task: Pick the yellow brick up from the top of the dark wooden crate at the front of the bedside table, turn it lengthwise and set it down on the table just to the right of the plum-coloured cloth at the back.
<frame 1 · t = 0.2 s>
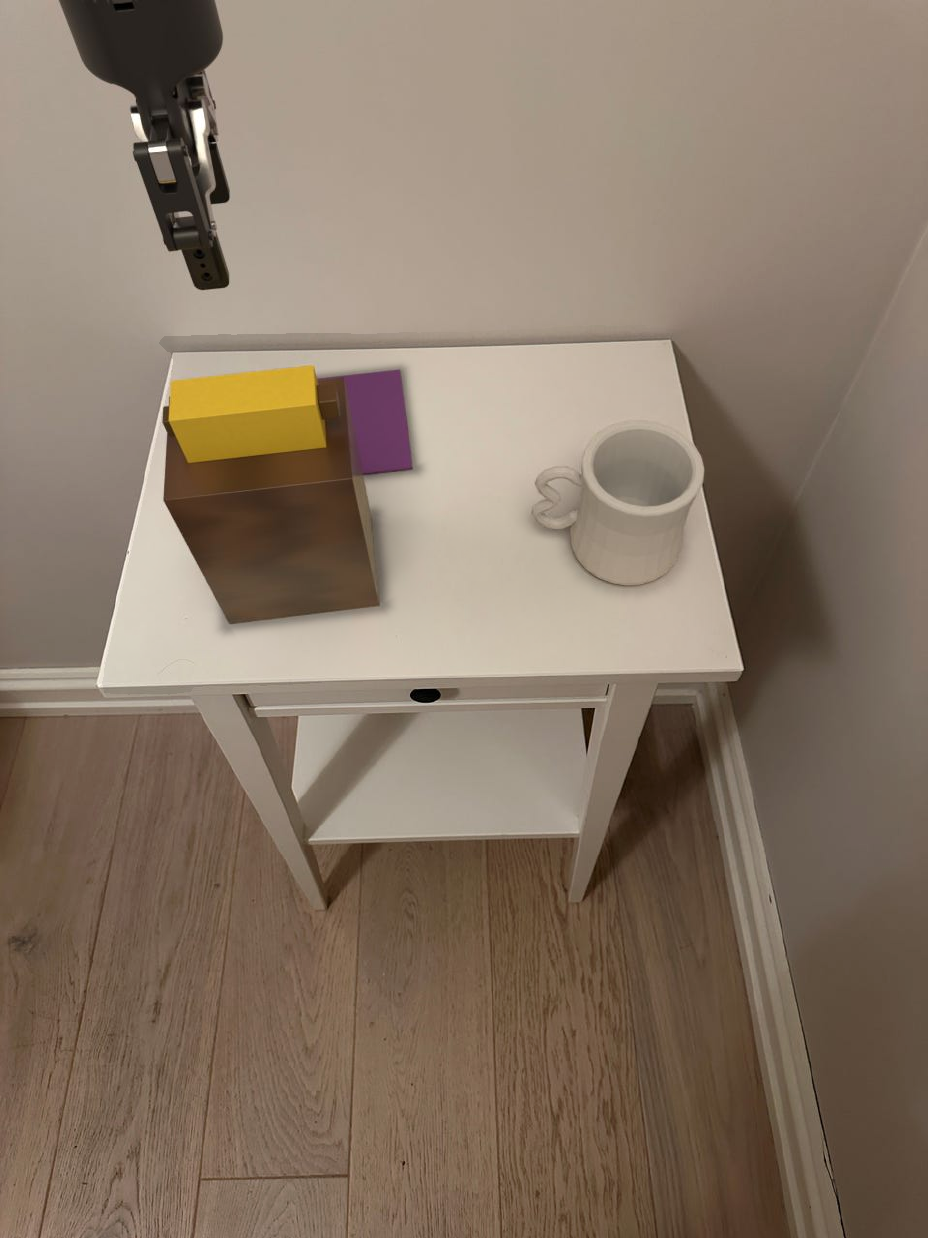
hand: (214, 241, 56), 23 cm above the table, tool pointing down, fingers open, 8 cm apart
yellow brick: (257, 435, 57), point 16 cm above the table, touching crate
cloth: (329, 427, 78), on the table
crate: (302, 568, 70), on the table
mug: (603, 543, 71), on the table
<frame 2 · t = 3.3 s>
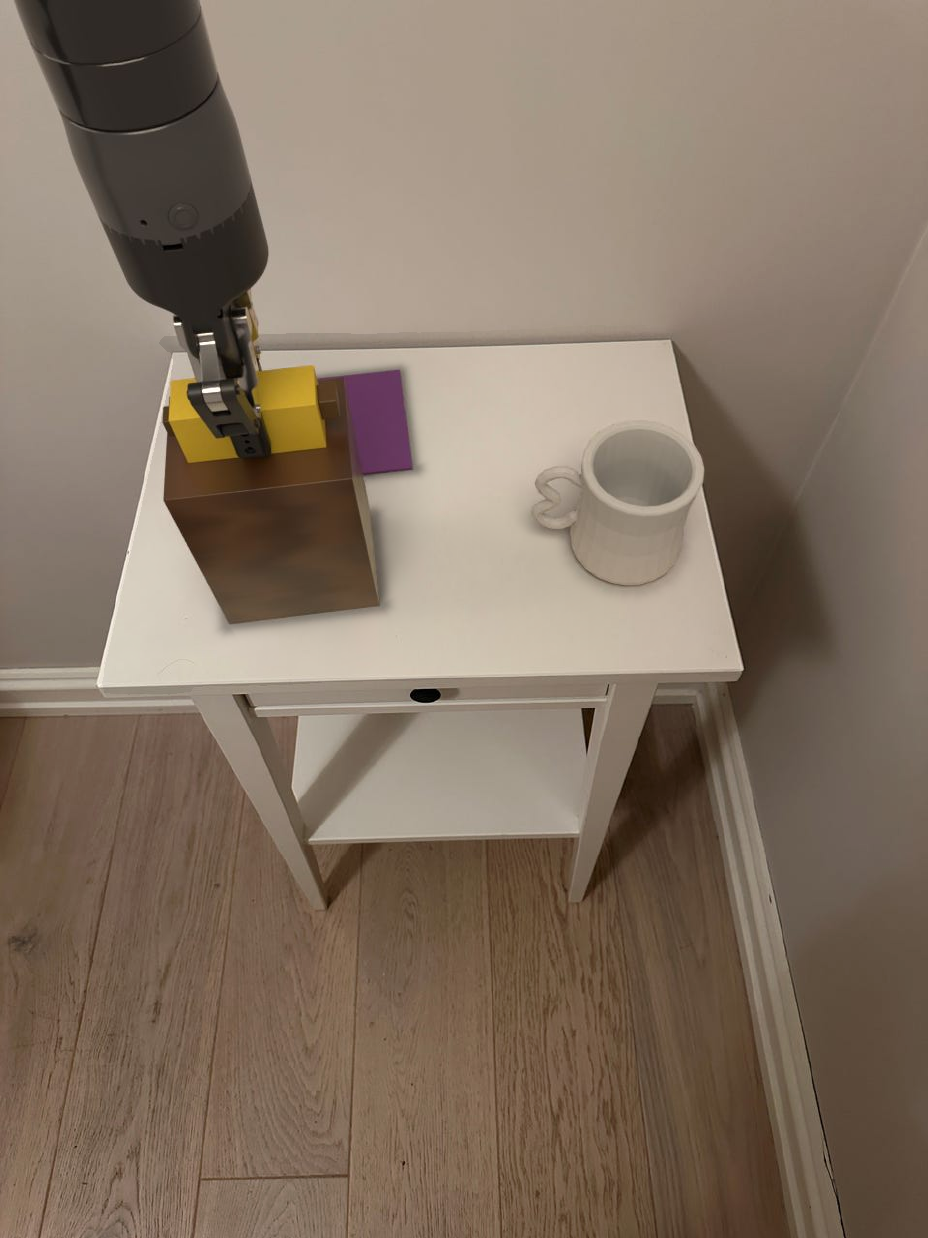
hand: (255, 429, 56), 17 cm above the table, tool pointing down, fingers closed on yellow brick, 3 cm apart
yellow brick: (257, 435, 57), point 16 cm above the table, touching crate, gripper
everything else where it was.
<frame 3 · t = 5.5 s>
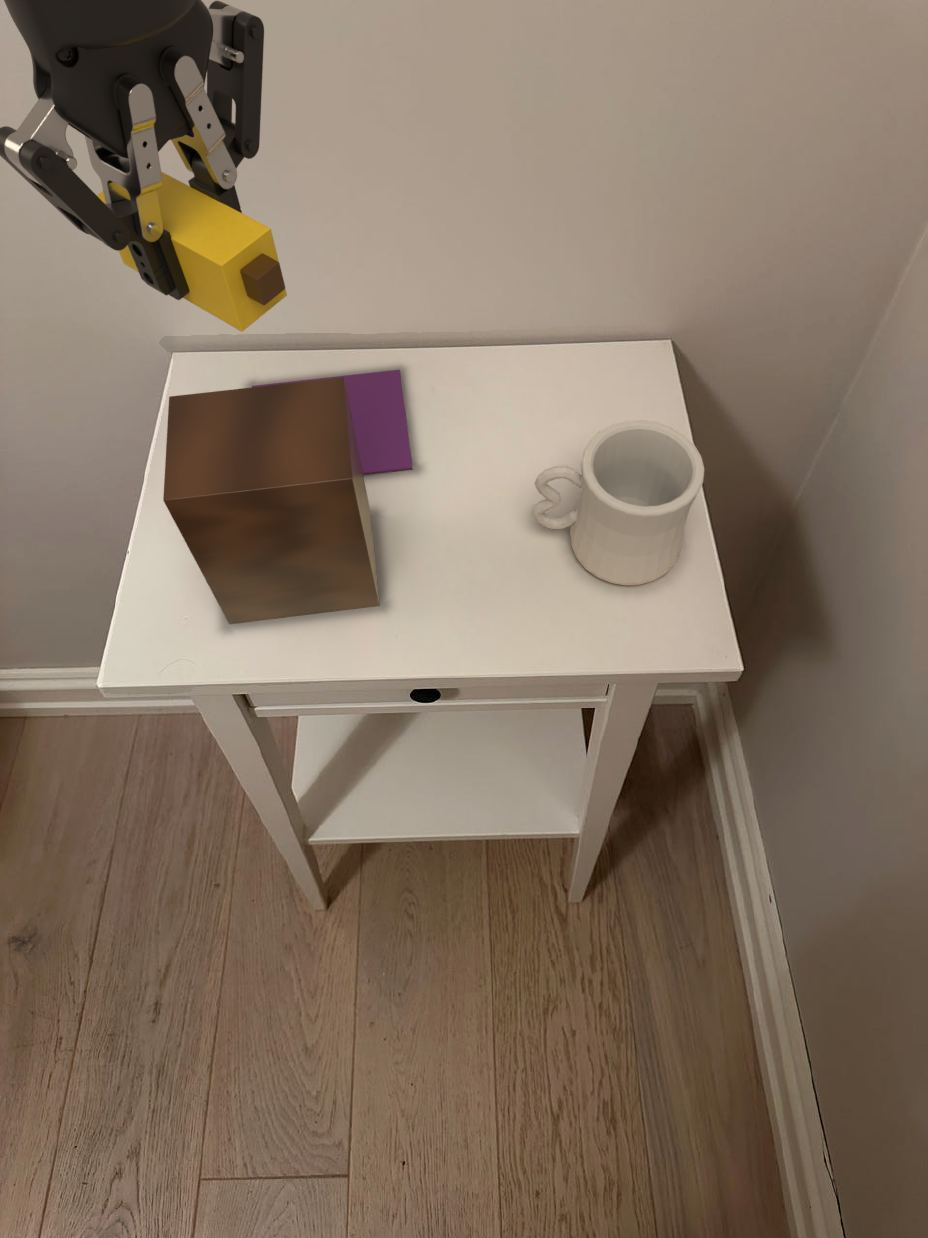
hand: (199, 268, 45), 29 cm above the table, tool pointing down, fingers closed on yellow brick, 3 cm apart
yellow brick: (204, 279, 46), point 28 cm above the table, touching gripper
everything else where it was.
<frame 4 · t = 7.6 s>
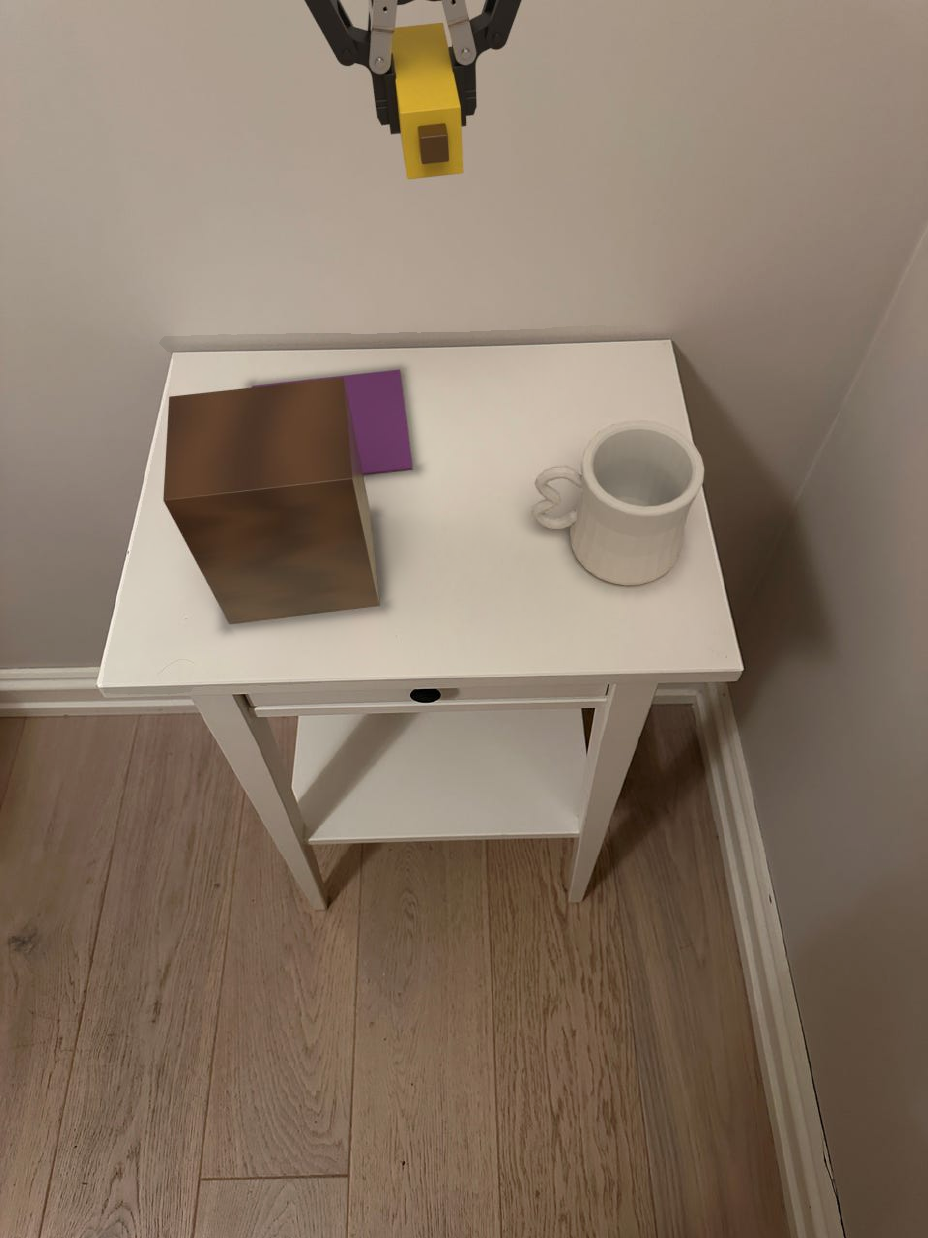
hand: (426, 121, 53), 28 cm above the table, tool pointing down, fingers closed on yellow brick, 3 cm apart
yellow brick: (427, 132, 53), point 27 cm above the table, touching gripper
everything else where it was.
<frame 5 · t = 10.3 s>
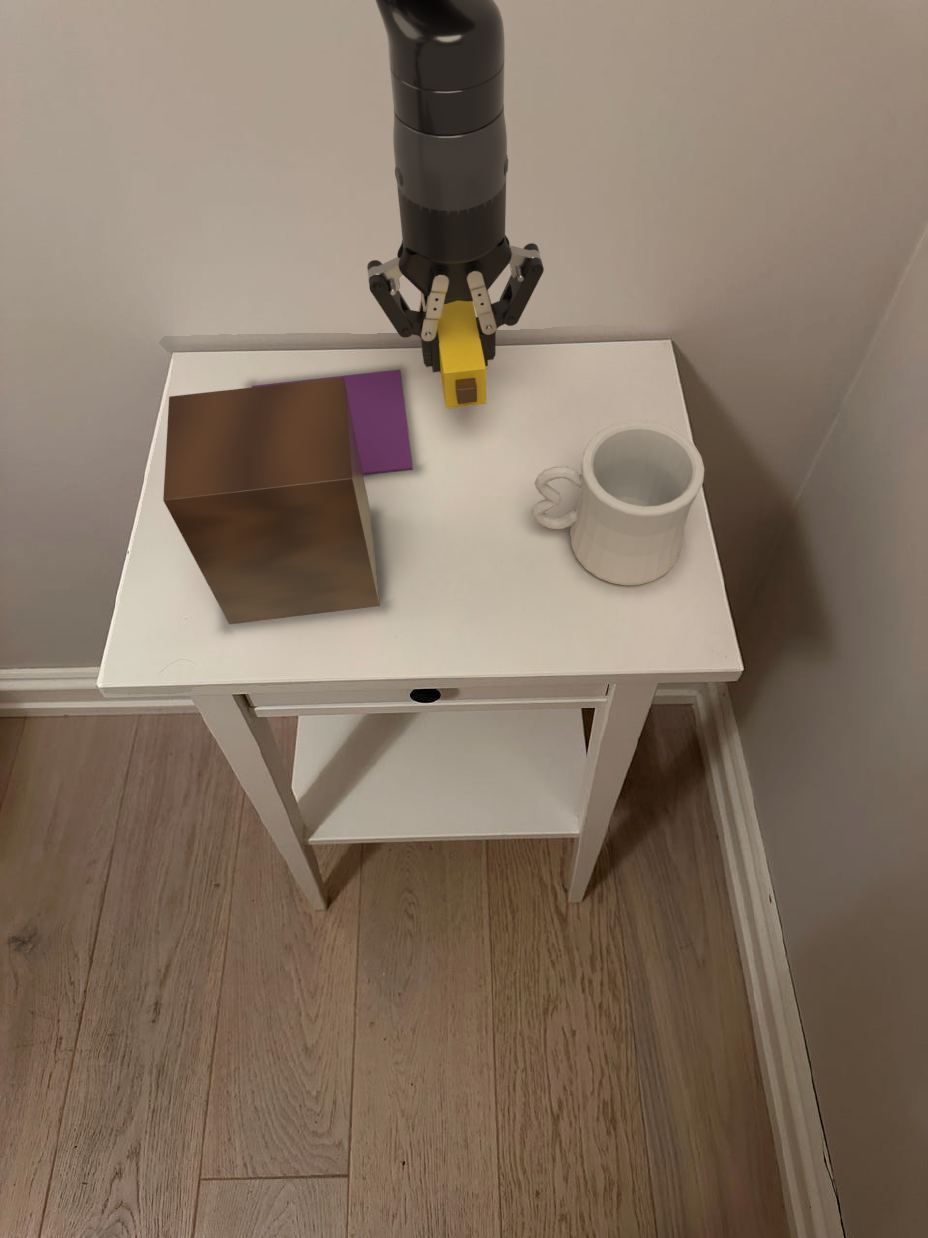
hand: (458, 361, 73), 6 cm above the table, tool pointing down, fingers closed on yellow brick, 3 cm apart
yellow brick: (459, 367, 74), point 6 cm above the table, touching gripper
everything else where it was.
when the fingers open (1 cm above the table, at t = 12.2 s): yellow brick stays where it is, on the table.
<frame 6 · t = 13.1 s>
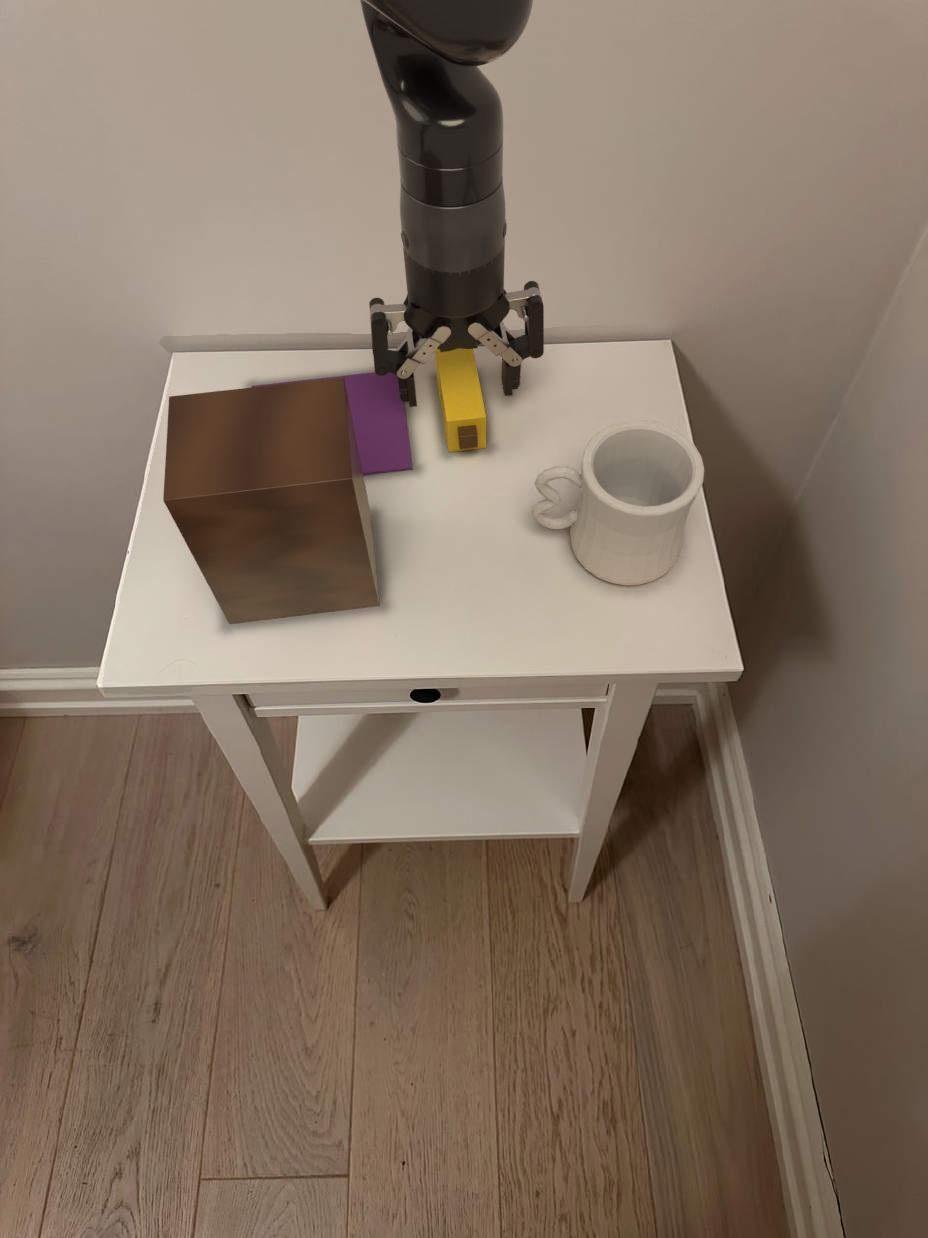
hand: (459, 394, 77), 2 cm above the table, tool pointing down, fingers open, 8 cm apart
yellow brick: (460, 412, 78), on the table
everything else where it was.
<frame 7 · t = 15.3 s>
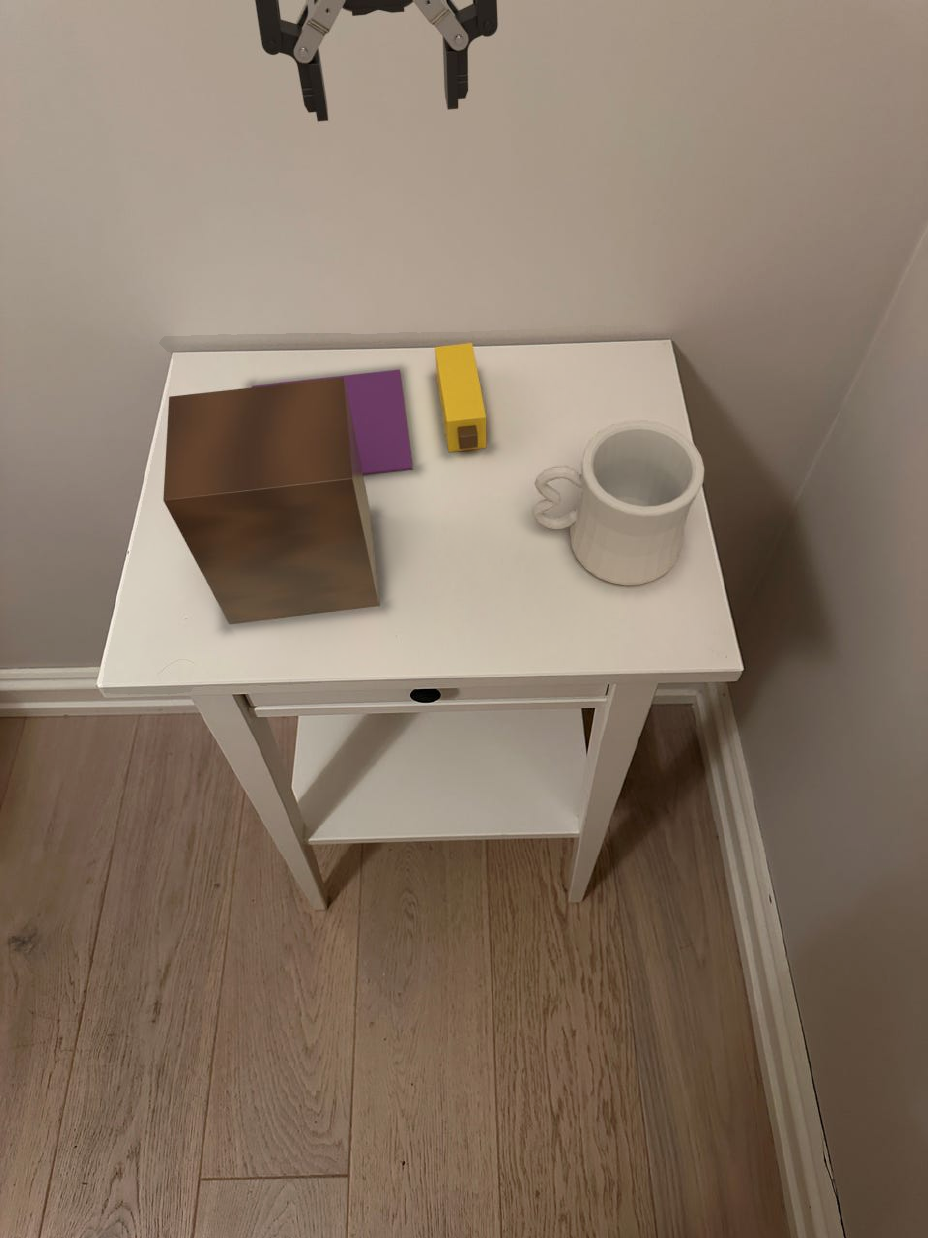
hand: (386, 108, 56), 27 cm above the table, tool pointing down, fingers open, 8 cm apart
nothing on the table moved.
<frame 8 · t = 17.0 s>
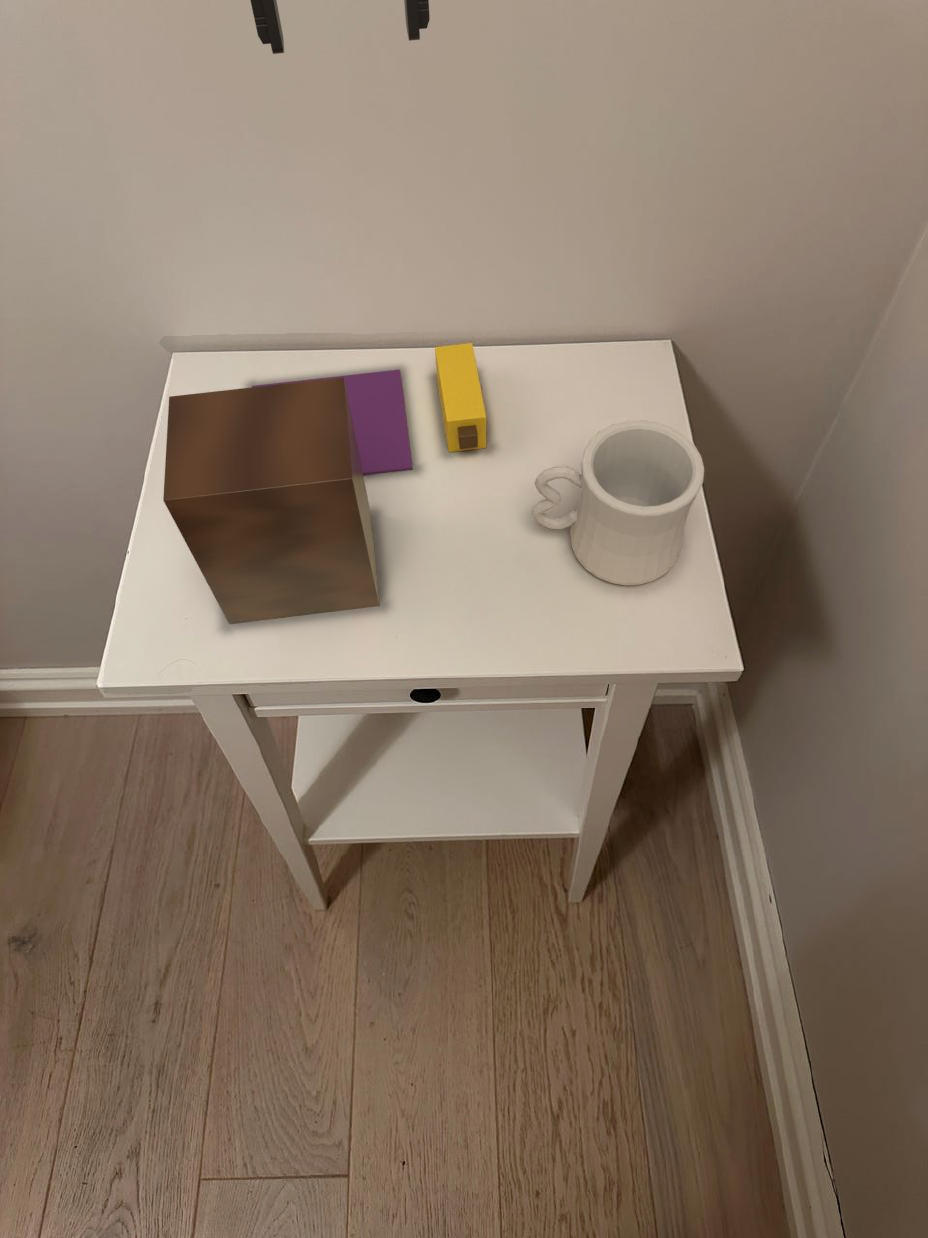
hand: (345, 40, 54), 30 cm above the table, tool pointing down, fingers open, 8 cm apart
nothing on the table moved.
at the end: yellow brick inside the target area on the table beside the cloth (0.5 cm from its centre), on the table; yellow brick touching table; the gripper is holding nothing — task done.
